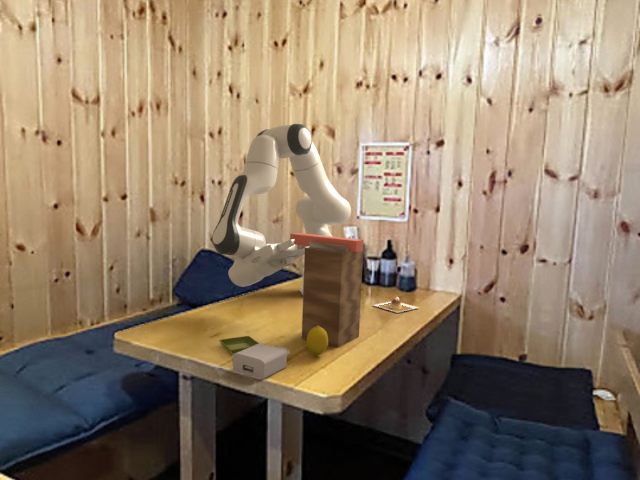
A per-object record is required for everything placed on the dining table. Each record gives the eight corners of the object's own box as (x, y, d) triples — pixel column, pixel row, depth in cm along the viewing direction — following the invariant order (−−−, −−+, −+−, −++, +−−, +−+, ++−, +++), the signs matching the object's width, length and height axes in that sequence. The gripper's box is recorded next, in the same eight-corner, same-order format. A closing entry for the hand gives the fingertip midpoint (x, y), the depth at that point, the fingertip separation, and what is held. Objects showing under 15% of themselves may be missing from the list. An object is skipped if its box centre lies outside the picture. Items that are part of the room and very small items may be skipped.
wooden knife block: (324, 329, 151) (327, 239, 148) (358, 336, 145) (363, 243, 141) (301, 338, 141) (305, 242, 138) (337, 347, 135) (342, 247, 131)
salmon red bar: (297, 242, 149) (298, 232, 148) (362, 250, 137) (363, 239, 137) (289, 243, 145) (290, 233, 145) (356, 252, 134) (356, 241, 133)
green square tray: (262, 352, 130) (262, 345, 129) (230, 357, 125) (230, 349, 125) (248, 342, 137) (248, 335, 137) (218, 347, 132) (218, 339, 132)
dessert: (372, 308, 181) (372, 295, 180) (393, 303, 189) (394, 291, 188) (397, 315, 172) (398, 301, 172) (419, 310, 180) (419, 297, 179)
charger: (300, 361, 124) (264, 381, 111) (270, 353, 128) (232, 371, 116) (301, 343, 123) (264, 360, 110) (271, 336, 128) (232, 352, 115)
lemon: (311, 360, 124) (312, 329, 123) (302, 353, 129) (303, 323, 128) (331, 358, 126) (332, 327, 125) (322, 351, 131) (323, 321, 130)
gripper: (243, 252, 144) (277, 232, 137) (285, 246, 161) (317, 228, 154) (251, 272, 143) (285, 253, 136) (293, 264, 160) (325, 246, 153)
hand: (303, 240), depth 145 cm, fingers open, 8 cm apart
